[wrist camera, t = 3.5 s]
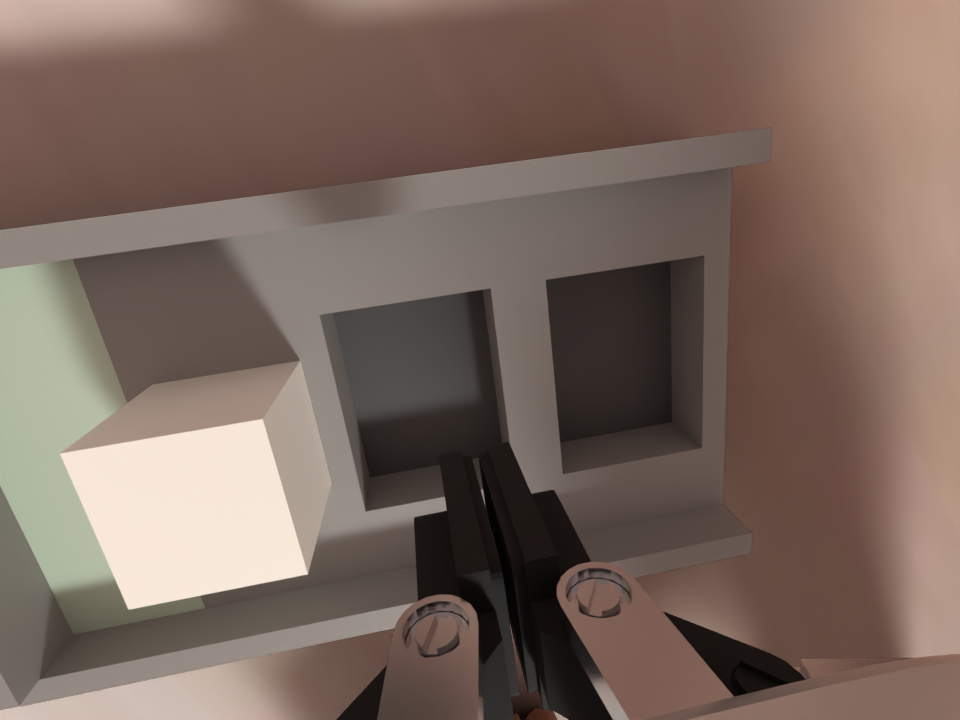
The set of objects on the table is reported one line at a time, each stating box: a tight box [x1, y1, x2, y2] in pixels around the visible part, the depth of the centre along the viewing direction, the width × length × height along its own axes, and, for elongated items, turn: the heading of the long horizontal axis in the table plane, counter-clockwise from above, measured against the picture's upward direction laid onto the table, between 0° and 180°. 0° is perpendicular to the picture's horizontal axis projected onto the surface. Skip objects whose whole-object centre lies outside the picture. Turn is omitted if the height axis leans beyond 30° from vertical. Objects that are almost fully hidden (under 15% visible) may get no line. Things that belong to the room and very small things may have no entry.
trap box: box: [0, 127, 772, 710], centre depth 19 cm, size 28×16×6 cm, turn 97°
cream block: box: [60, 361, 332, 610], centre depth 16 cm, size 5×5×5 cm
